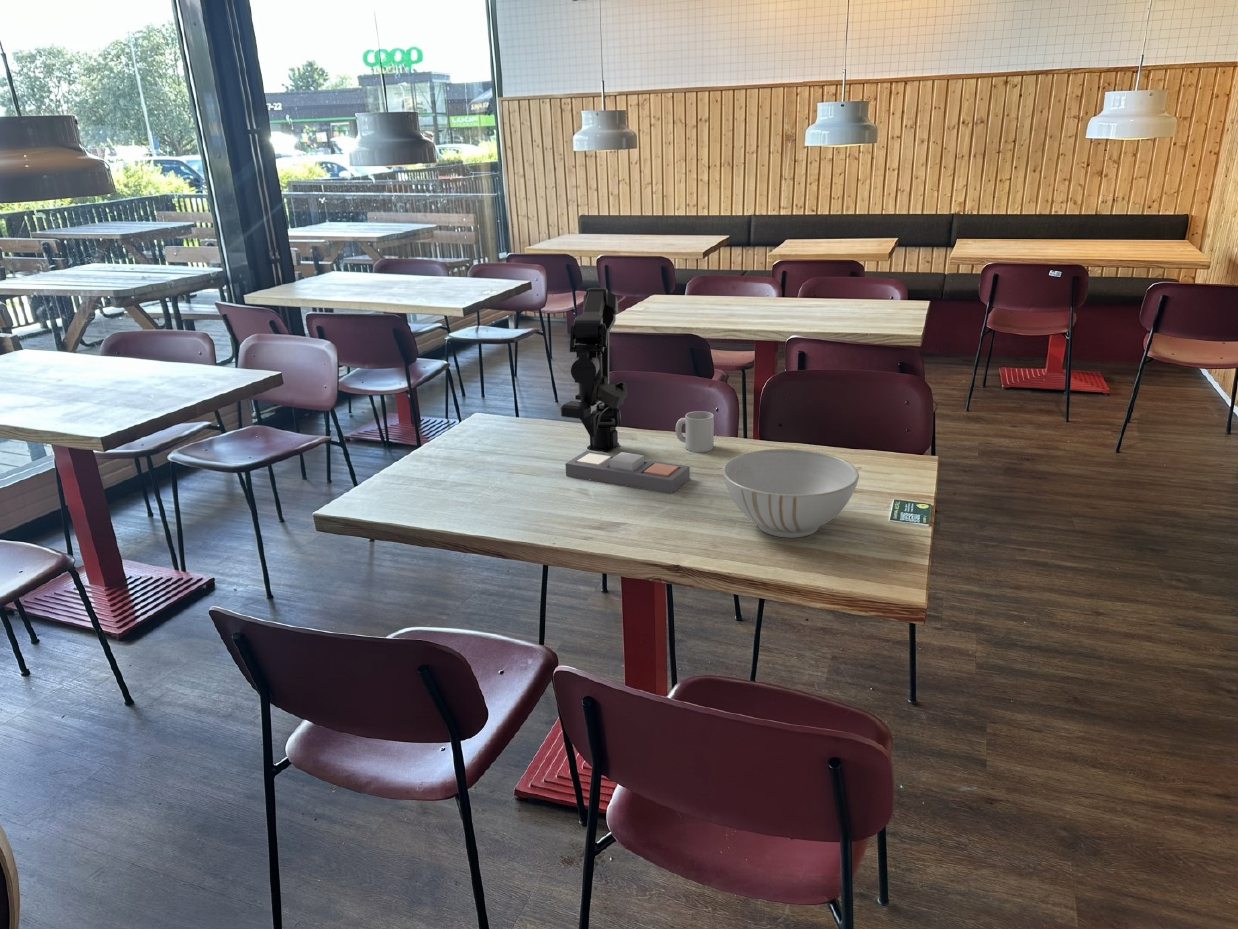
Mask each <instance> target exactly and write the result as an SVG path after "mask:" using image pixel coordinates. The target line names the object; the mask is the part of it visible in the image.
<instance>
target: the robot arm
mask: <svg viewBox="0 0 1238 929" xmlns="http://www.w3.org/2000/svg"><path fill="white" fill-rule="evenodd" d="M585 292H586V293H585V294H584V295H583V296H582V298H583V300H582V302H583V304H582V311H583V312H582V313H581V314H579V315H576V316H575V319H574V320H573V323H571V324H570V337H569V338H570V339H569V341H570V342H569V353H576V356H575V360H574V362H573V363H572V365H571V367H570V374H571V377H572V379H573V380H574V383H575V384H576V383H577V384H578V386H577V387H578V394H575V395H574V396H575V400H570V401H568V402H565V403H564V404H563V405H561V406H560V417H562V418H563V417H564V418H570V419H577V420H580V421H581V423H582V425H583V427H584V428H585V430H586V432H587V434H588V435H589V445H588V446H586V449H587V450H593V449H594V450H593V451H598V452H605V453H608V452H610V451H612V450H614V449H615V448H617V447H618V446H620V442H619V441H618V438H619V437H618V434H619V433H618V432H619V431H618V430H617V428H618V426H621V425H622V416H621V409H619V407H620V406H623V405H624V402H625V398H627V397H628V396H629V394H628V386H627V383H626V382H623V381H619V382H618V383H617V384H615V383H613V384H610V333H611V332H610V331H611V330H612V328H613V326H614V325H615V323H616V321H617V320H616V319H617V318H616V317H617V315H618V314H619V302H618V298H617V295H616V294H614V293H611V292H610V291H608V288H605V287H589V288H587V289H586V291H585ZM577 400H578V401H577ZM613 448H614V449H613Z"/></svg>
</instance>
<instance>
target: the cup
mask: <svg viewBox="0 0 1238 929" xmlns="http://www.w3.org/2000/svg"><path fill="white" fill-rule="evenodd" d="M714 416H715V415H714V413H712V412H710V411H700V410H697V411H690V412H687V413H686V414H685V417H681V418H679V419H678V420H677V422H676V424H675V435H676V437H677V440H679V441H680V442H681V443H684V444H685V449H686V450H687V449H688V450H689V452H691V451H693V452H692V453H698V452H701V453H707V452H710V451H712V450H713V448H714V440H715V439H714V438H715V437H714V433H715V432H714V431H715V430H714V427H715V425H714V422H715V421H714V418H715V417H714ZM683 425H685V427H684V429H685V434H684V435H683V432H682V429H683V428H682V427H683ZM688 450H687V451H688Z"/></svg>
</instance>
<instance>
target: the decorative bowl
mask: <svg viewBox="0 0 1238 929" xmlns="http://www.w3.org/2000/svg"><path fill="white" fill-rule="evenodd" d="M722 476H723V480H724V483H725V484H724V485H725V486H726V489H727V491H728V493H729V495H730V498H731V499H732V501H733V502H734V504H735V505H736V507H737V508H738V509H739V510H740V511H741V513H742V514H743V515H745V517H747V518H748V519H750V521H752V522H753V523H755V524H757V527H758V528H759V529H760V530H761V531H762V532H764V533H765V534H768V535H771V536H774V537H778V538H779V537H780V538H788V539H789V538H790V539H794V538H795V539H796V538H802V537H807V536H810V535H813V534H814V533H815V532H817V531H818V530H819V528H820V527H822V526H824V525H825V524H827V523H829V522H830V521H832V520H833V519H834V518H836V517H837V516H838V515H839V514H840V513H841V512H842V510H843V509H844V508H845V507H846V506H847V504H848V503H849V501H850V500H851V498H852V496H853V495H854V492H855V490H856V488H857V486H858V483H859V478H860V473H859V471H858V469H857V468H856V466H855V465H853V464H852V463H850V462H849V461H848V460H846V459H843V458H842V457H839V456H836V455H834V454H829V453H825V452H820V451H817V450H816V451H815V450H810V449H800V448H772V449H770V448H769V449H761V450H755V451H749V452H746V453H743V454H740V455H737V456H734V457H732V458H730V460H728V461H727V462H726V463H725V464H724V465H723V467H722Z"/></svg>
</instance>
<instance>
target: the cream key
mask: <svg viewBox="0 0 1238 929" xmlns="http://www.w3.org/2000/svg"><path fill="white" fill-rule="evenodd" d="M610 459H611V456H605V455H598V454H592V453H589V454H587V455H585V456H584V457H582V458H581V459H579V460H577V463H582V464H588V465H594V466H602V465H603V464H605V463H606V462H608V461H609V460H610Z"/></svg>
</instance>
